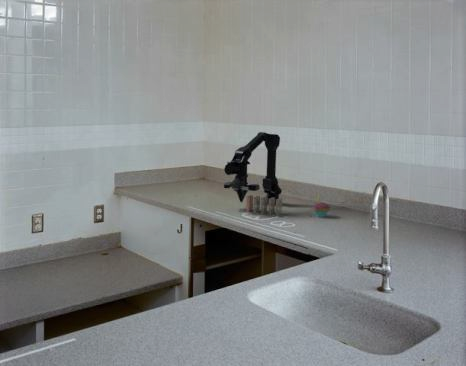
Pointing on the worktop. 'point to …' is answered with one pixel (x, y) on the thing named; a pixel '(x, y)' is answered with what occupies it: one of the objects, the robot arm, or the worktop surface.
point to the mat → (266, 213)
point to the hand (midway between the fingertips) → (241, 202)
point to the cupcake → (321, 208)
